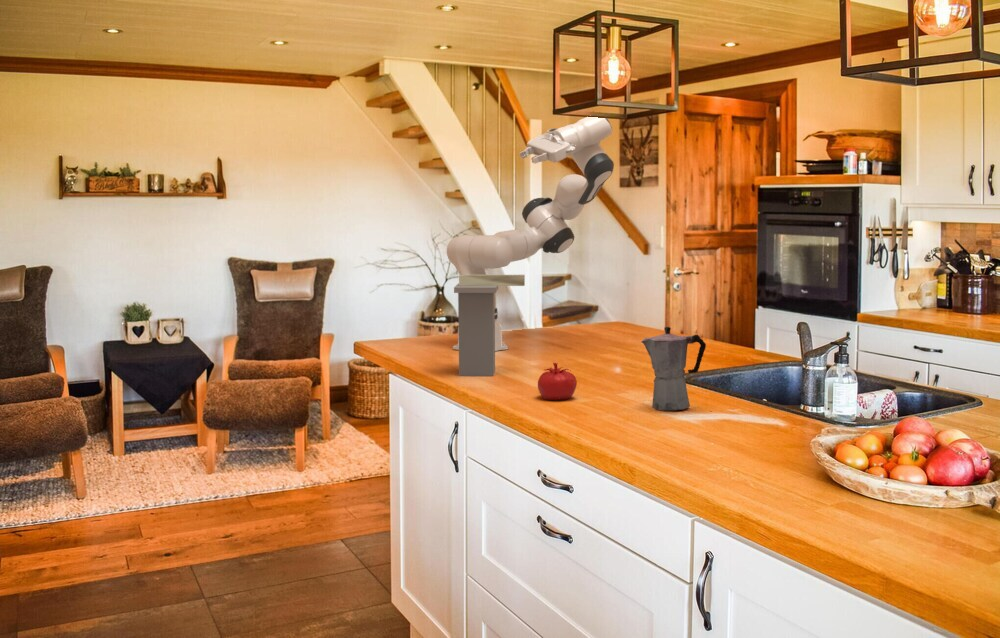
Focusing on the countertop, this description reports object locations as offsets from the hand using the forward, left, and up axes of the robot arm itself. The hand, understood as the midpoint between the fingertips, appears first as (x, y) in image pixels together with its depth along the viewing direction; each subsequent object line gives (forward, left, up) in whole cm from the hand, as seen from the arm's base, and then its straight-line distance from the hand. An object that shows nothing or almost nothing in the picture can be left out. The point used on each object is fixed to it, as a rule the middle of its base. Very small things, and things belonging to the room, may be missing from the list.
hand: (526, 158), depth 293 cm
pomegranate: (+59, +9, -64) cm, 87 cm away
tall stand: (+24, -14, -64) cm, 69 cm away
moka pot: (+70, +37, -64) cm, 101 cm away
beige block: (+24, -10, -38) cm, 46 cm away
